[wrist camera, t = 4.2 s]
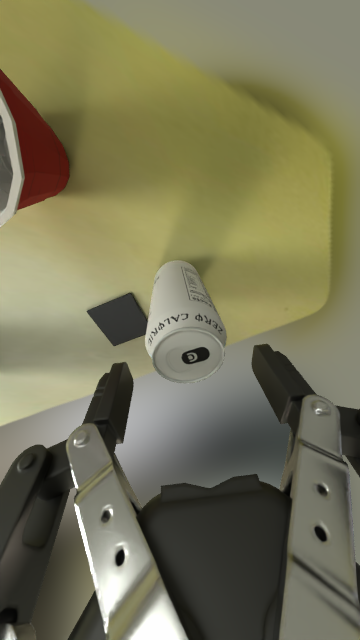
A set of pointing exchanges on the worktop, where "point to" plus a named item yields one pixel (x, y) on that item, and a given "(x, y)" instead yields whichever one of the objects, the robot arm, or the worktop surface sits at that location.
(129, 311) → the coaster
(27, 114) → the plastic cup
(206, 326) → the energy drink can
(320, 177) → the worktop surface
